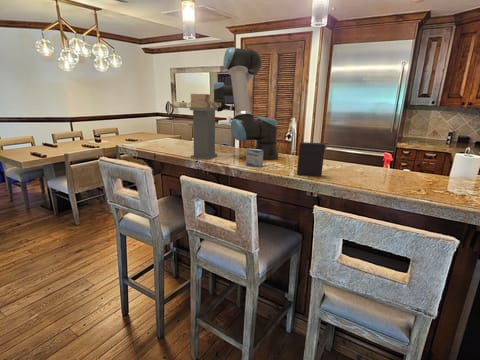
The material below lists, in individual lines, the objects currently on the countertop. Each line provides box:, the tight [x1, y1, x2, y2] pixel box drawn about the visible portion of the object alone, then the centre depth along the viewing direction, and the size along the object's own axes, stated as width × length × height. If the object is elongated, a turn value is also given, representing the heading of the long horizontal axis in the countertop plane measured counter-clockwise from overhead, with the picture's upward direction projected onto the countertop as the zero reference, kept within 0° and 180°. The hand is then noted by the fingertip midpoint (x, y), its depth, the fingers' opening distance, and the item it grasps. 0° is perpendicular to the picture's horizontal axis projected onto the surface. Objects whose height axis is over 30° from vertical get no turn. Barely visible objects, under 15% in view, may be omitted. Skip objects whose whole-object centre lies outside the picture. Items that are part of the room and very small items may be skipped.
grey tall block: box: [189, 106, 218, 161], centre depth 162 cm, size 16×11×28 cm
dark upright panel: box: [296, 141, 326, 177], centre depth 131 cm, size 11×4×15 cm, turn 84°
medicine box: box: [245, 148, 264, 168], centre depth 147 cm, size 8×4×9 cm, turn 62°
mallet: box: [190, 93, 221, 108], centre depth 163 cm, size 27×8×7 cm, turn 159°
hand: (220, 105), depth 175 cm, fingers open, 13 cm apart
